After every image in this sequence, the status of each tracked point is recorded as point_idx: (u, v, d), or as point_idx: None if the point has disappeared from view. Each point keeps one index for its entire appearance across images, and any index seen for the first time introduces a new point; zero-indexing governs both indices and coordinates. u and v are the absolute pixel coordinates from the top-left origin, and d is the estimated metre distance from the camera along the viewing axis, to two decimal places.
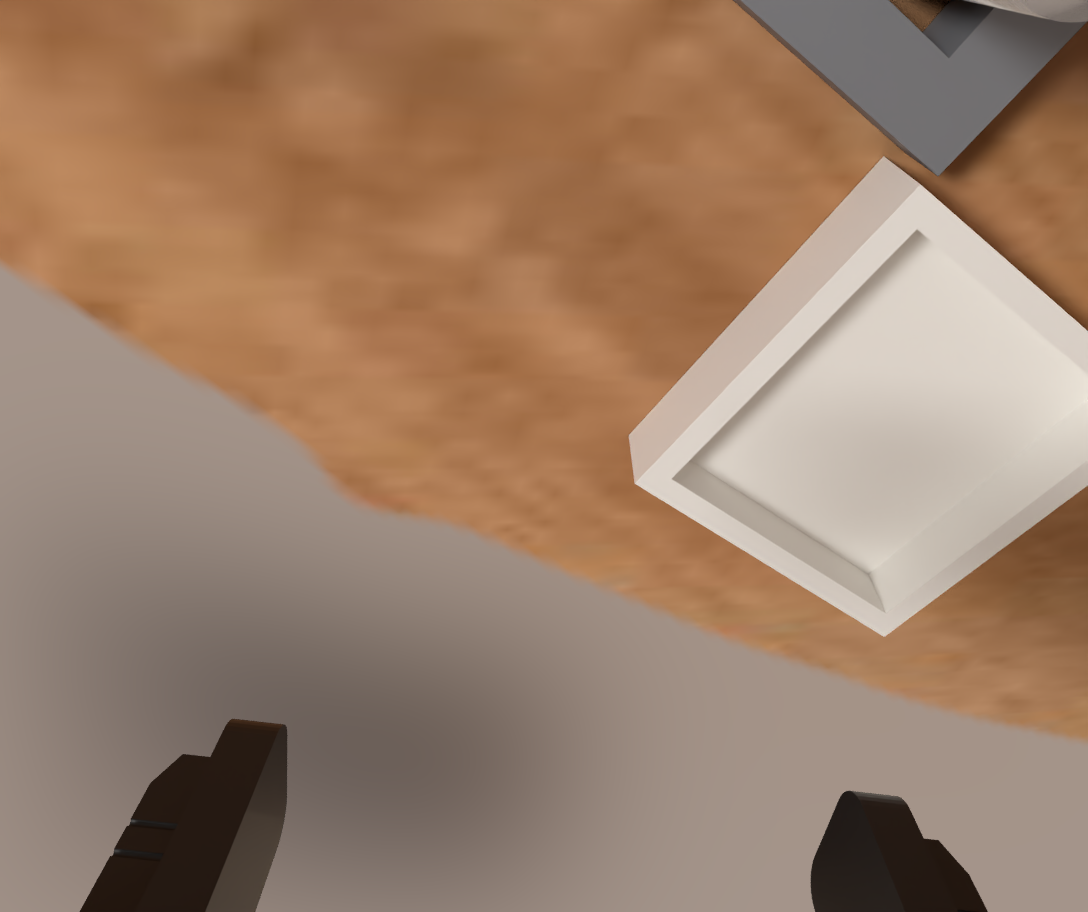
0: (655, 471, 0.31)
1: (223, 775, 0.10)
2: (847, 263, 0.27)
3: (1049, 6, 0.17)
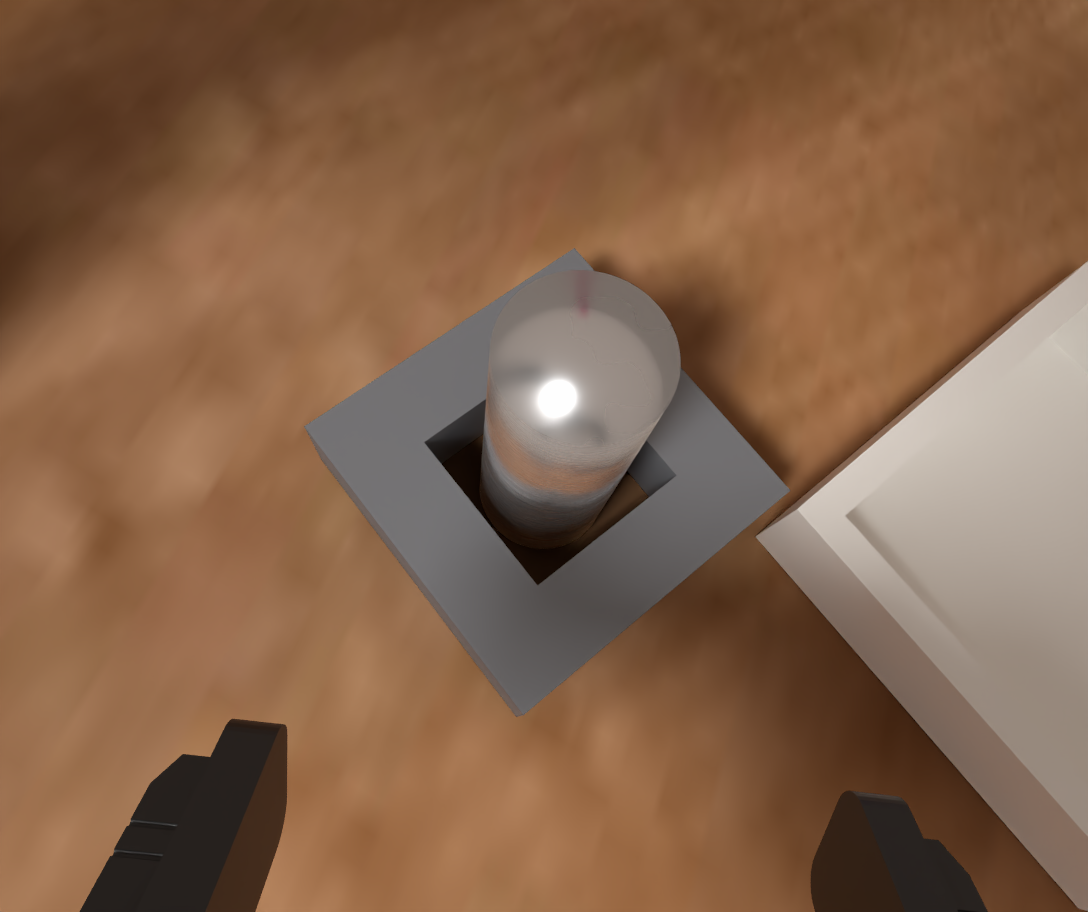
0: None
1: (223, 775, 0.10)
2: (873, 593, 0.23)
3: (659, 401, 0.17)
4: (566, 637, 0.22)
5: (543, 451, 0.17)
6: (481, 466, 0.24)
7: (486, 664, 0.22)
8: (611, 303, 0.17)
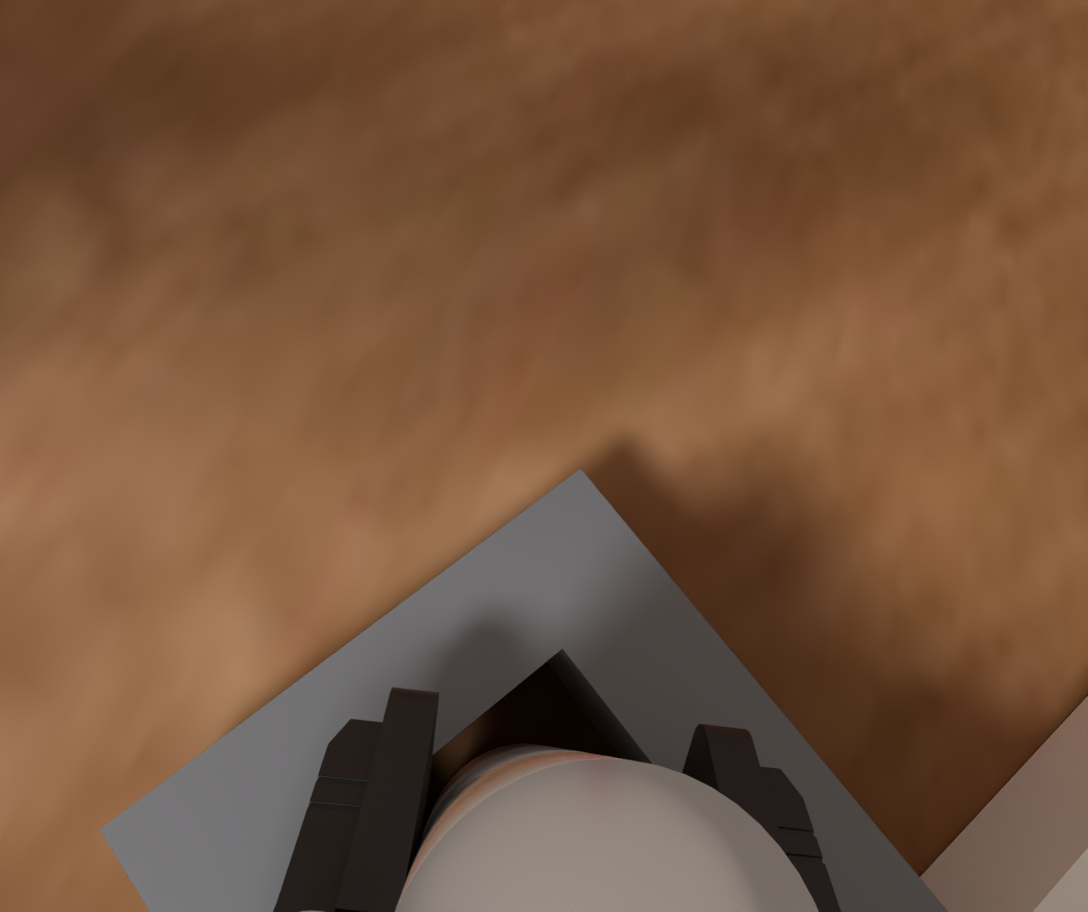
0: None
1: (398, 735, 0.11)
2: None
3: None
4: None
5: None
6: None
7: None
8: (672, 853, 0.07)
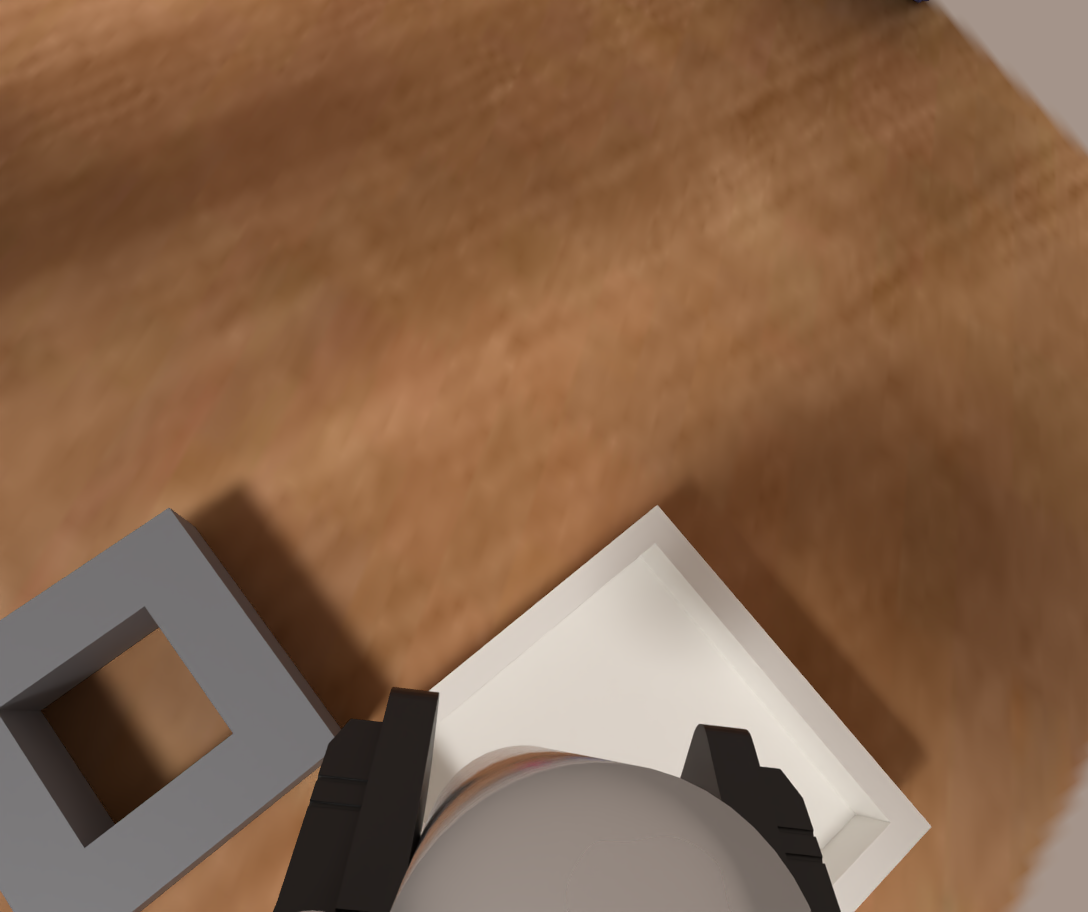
0: None
1: (398, 735, 0.11)
2: None
3: None
4: (104, 898, 0.25)
5: None
6: None
7: None
8: (666, 857, 0.07)
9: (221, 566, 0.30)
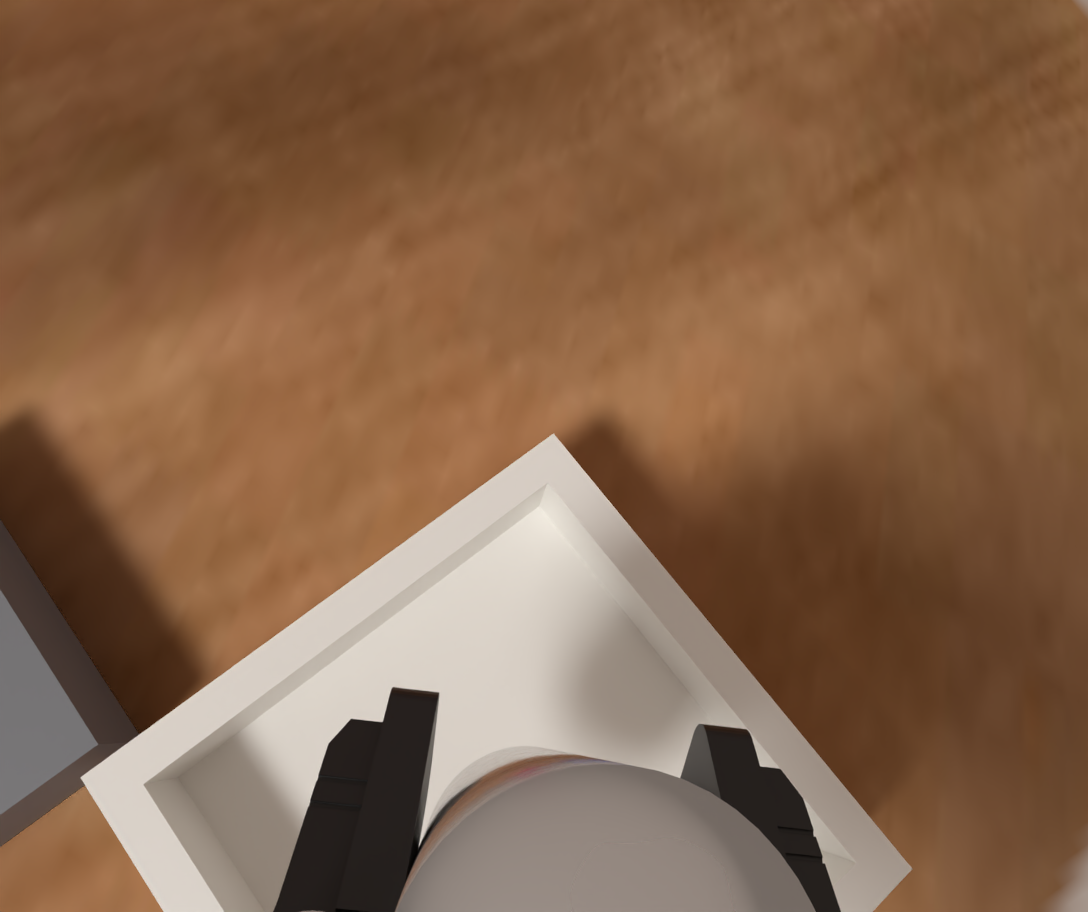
0: None
1: (399, 735, 0.11)
2: (153, 891, 0.18)
3: None
4: None
5: None
6: None
7: None
8: (670, 858, 0.07)
9: None
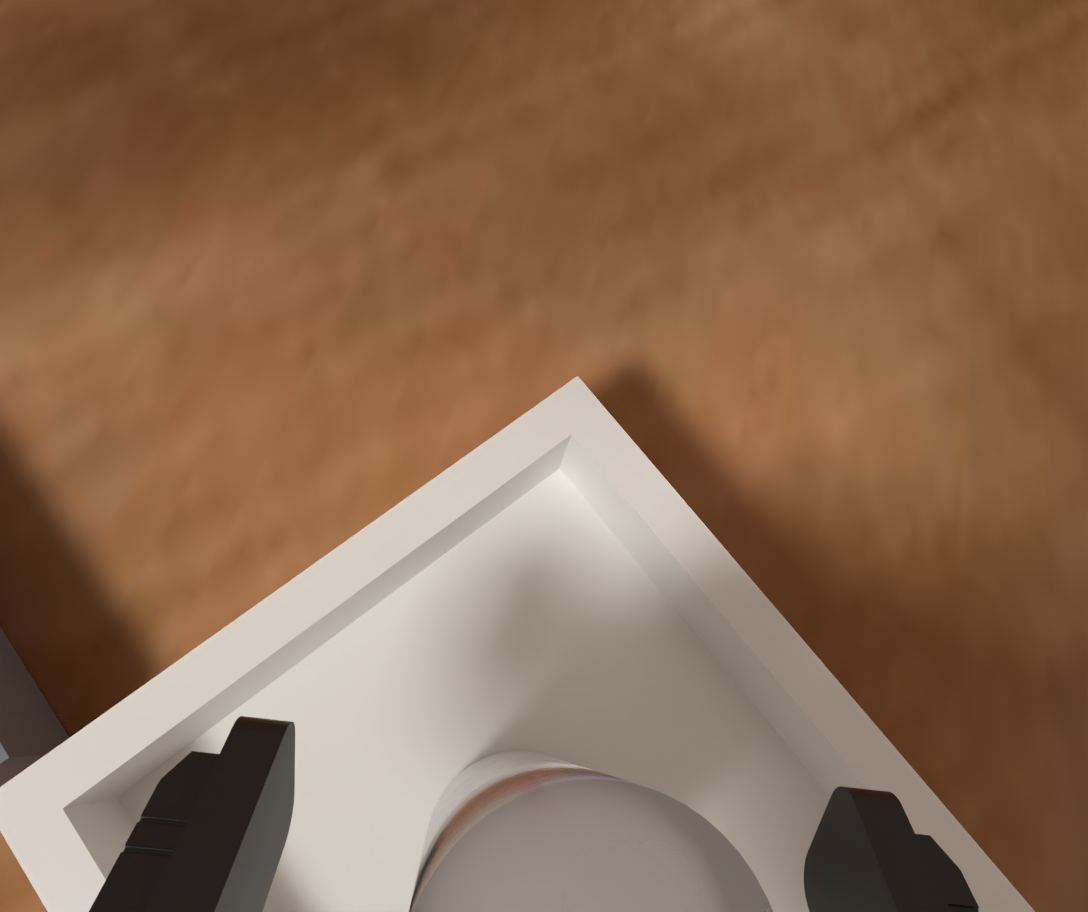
0: None
1: (232, 771, 0.10)
2: None
3: None
4: None
5: None
6: None
7: None
8: (648, 859, 0.09)
9: None
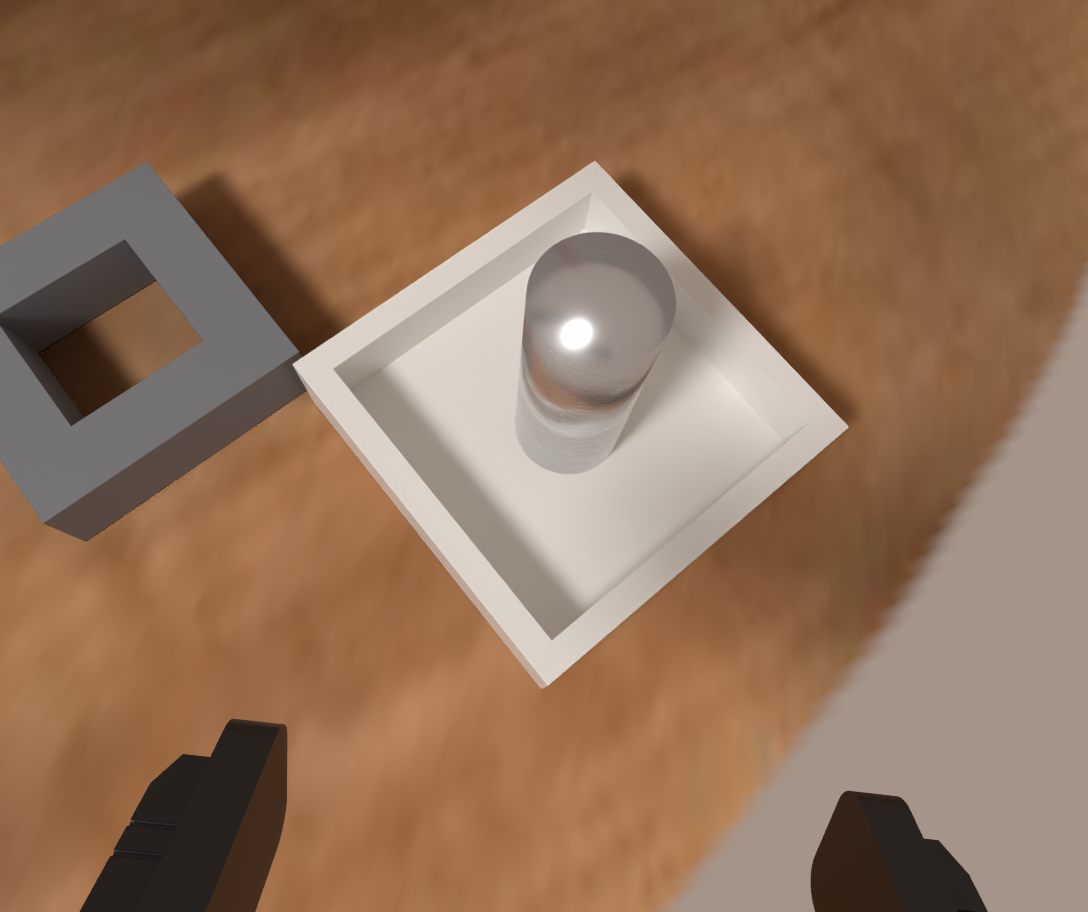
0: (536, 657, 0.26)
1: (223, 775, 0.10)
2: (345, 428, 0.28)
3: (659, 332, 0.22)
4: (88, 465, 0.28)
5: (569, 374, 0.22)
6: (517, 402, 0.29)
7: (19, 486, 0.27)
8: (620, 257, 0.22)
9: None
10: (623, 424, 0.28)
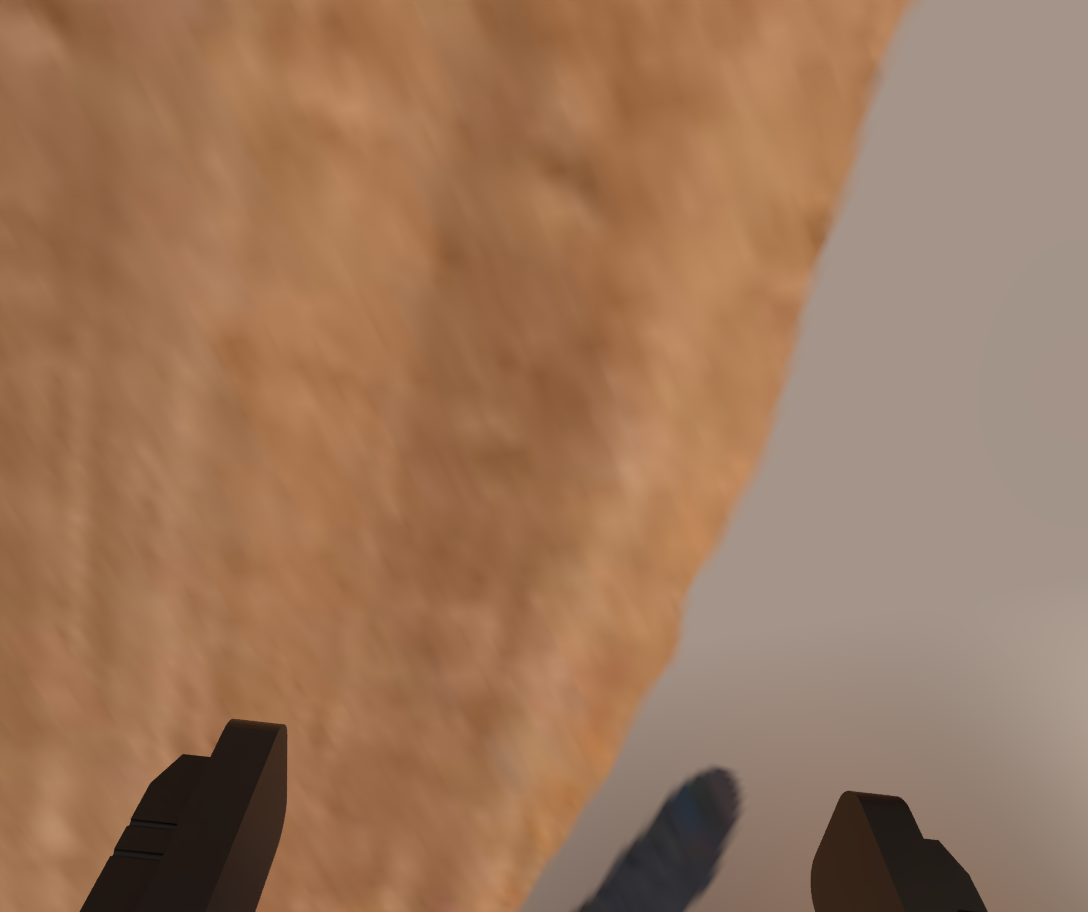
0: None
1: (223, 775, 0.10)
2: None
3: None
4: None
5: None
6: None
7: None
8: None
9: None
10: None
